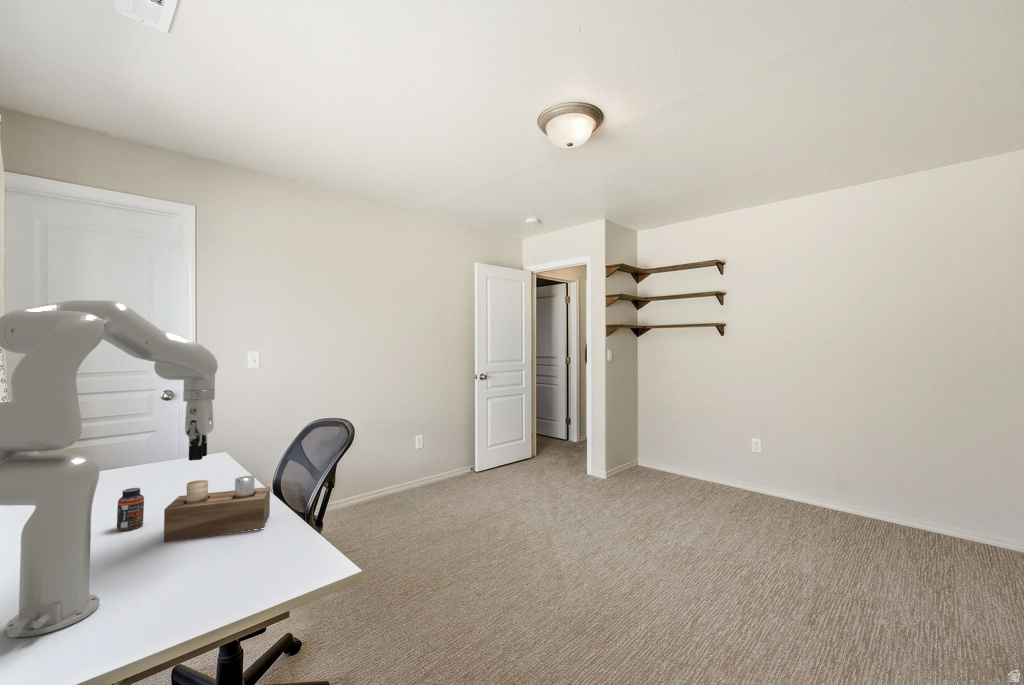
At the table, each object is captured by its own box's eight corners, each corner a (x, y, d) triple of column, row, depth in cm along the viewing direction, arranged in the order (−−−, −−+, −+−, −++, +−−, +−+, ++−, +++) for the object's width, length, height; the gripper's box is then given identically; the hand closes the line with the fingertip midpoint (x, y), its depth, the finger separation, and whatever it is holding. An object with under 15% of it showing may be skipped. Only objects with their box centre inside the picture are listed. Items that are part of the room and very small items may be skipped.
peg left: (204, 515, 126) (205, 483, 126) (183, 517, 124) (184, 485, 124) (209, 509, 130) (209, 479, 131) (189, 511, 129) (189, 481, 129)
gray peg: (252, 509, 130) (252, 479, 131) (232, 512, 128) (233, 481, 129) (255, 504, 135) (255, 475, 135) (236, 506, 133) (237, 476, 133)
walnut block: (263, 529, 128) (263, 498, 128) (163, 542, 119) (164, 509, 120) (269, 515, 139) (269, 487, 140) (178, 526, 130) (179, 496, 131)
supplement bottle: (127, 532, 126) (128, 493, 126) (111, 531, 127) (112, 491, 127) (148, 524, 132) (149, 487, 132) (132, 523, 133) (133, 485, 133)
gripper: (206, 397, 122) (205, 463, 121) (221, 392, 137) (220, 451, 137) (173, 398, 119) (172, 466, 119) (192, 393, 135) (191, 453, 134)
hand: (198, 457), depth 128 cm, fingers open, 3 cm apart
